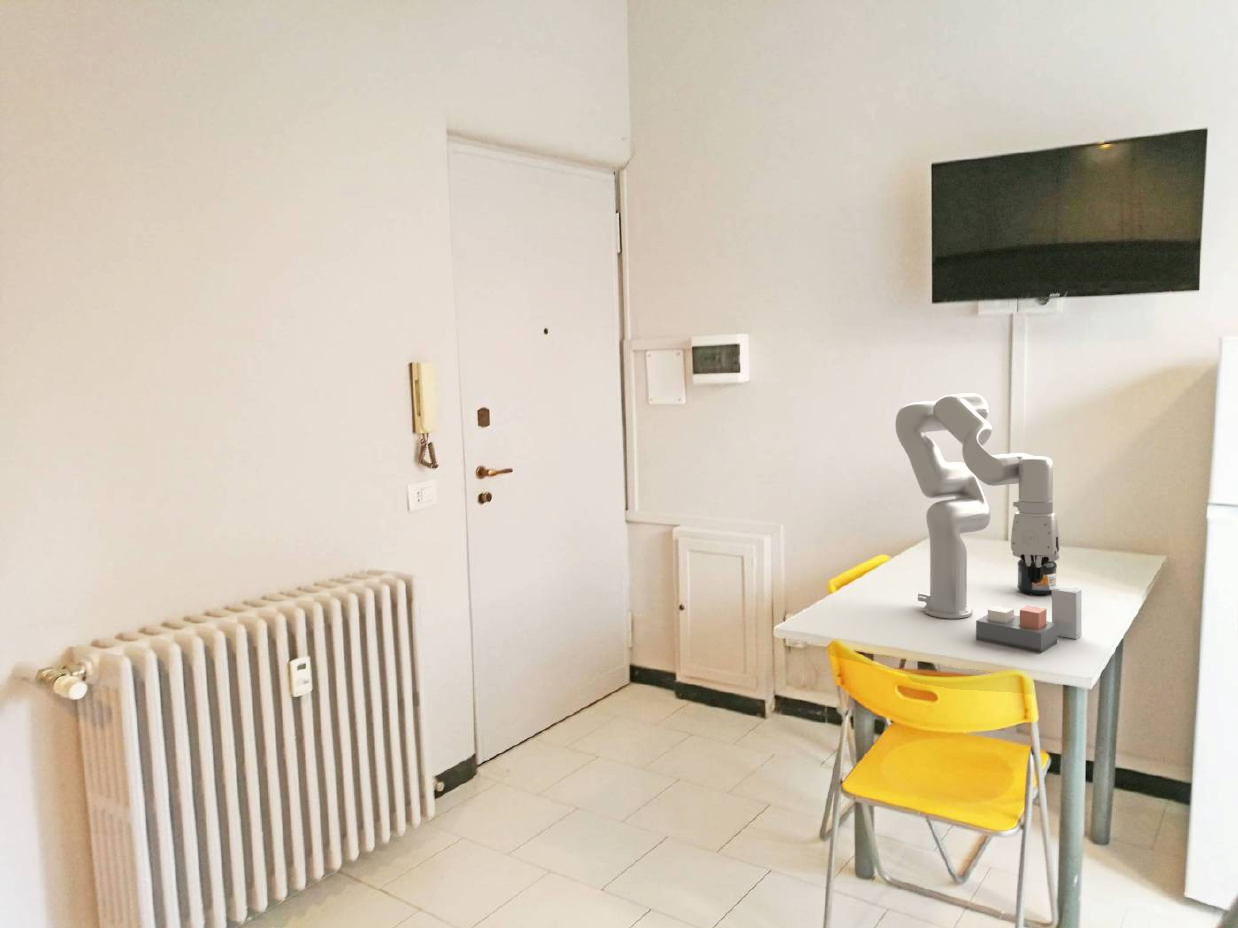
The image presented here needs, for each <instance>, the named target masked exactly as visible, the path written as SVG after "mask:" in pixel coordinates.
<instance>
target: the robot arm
mask: <svg viewBox="0 0 1238 928" xmlns="http://www.w3.org/2000/svg"><path fill="white" fill-rule="evenodd" d="M988 415H989V405H988V402H987V401H986V399H985V398H984V397H983V396H981V395H980V394H977V393H972V392H971V393H958V394H957V393H955V394H948V395H944V396H942V397H940V398H939V399H938V400H933V401H932V400H931V401H919V402H918V401H917V402H912V403H909V404H906V405H904V406H902V407H901V408H900V409H899V410H898V412H897V415H896V417H895V432H896V436H897V438H898V441H899V443H900V445H901V446H902V448H903V449H904V451H905V453H906V455H907V457H908V459H909V461H910V465H911V467H912V470H913V473H914V476H915V477H916V481H917V483H918V486H919V488H920V490H921V492H922V494H923V495H924V496H925V497H926V498H928V499H943V498H951V499H944V500H940V501H936V502H934V503H932V504H931V505H930V506H929V508H927V512H926V515H925V517H926V518H925V519H926V525H927V529H928V534H929V560H930V561H929V565H930V566H929V591H930V592H929V593H925V592H919V593H918V594H917V601H918V602H925V604H926V605H924V607H923V611H924V613H925V614H927V615H928V614H929V616H931V617H935V618H941V619H951V620H953V619H954V620H955V619H957V620H958V619H965V618H968V617H970V616H972V615H973V608H971V606H968V605H967V597H968V596H967V592H968V591H967V583H968V582H967V581H968V578H967V576H968V566H967V565H968V564H967V563H968V558H967V557H968V553H967V552H968V550H967V547H966V544H965V542H964V540H963V539H962V536H961V534H962V535H963V534H966V533H973V532H979V531H982V530H984V529H986V528H987V527H988V526H989V524H990V522H991V511H990V506H989V504H988V501H987V499H986V497H985V494H984V491H983V489H982V486H981V484H980V481H981V482H982V483H983V484H985V485H987V486H992V487H995V486H997V487H998V486H1005V485H1014V484H1015V485H1016V484H1018V500H1017V501H1015V500H1014V501H1013V503H1012V506H1013V508H1015V507H1016V508H1017V511H1016V512H1015V513H1014V515H1013V519H1012V527H1011V535H1010V536H1011V539H1010V549H1011V551H1012V556H1014V557H1017V558H1019V559H1022V560H1023V561H1024V562H1025V563H1026V565H1027V566H1028V578H1030V583H1033V582H1034V583H1036V584H1037V583H1039V582H1041V580H1042V579H1043V566H1044V565H1045V564H1046V563H1047V562H1048V561H1055V562H1056V561H1059V560H1060V556H1059V551H1060V534H1059V533H1060V532H1059V531H1060V530H1059V525H1058V520H1057V516H1056V513H1054V511H1053V510H1054V505H1053V504H1054V503H1053V502H1054V500H1053V499H1054V498H1053V493H1054V490H1053V489H1054V486H1053V484H1054V477H1053V476H1054V463H1053V461H1052V459H1051V458H1050V457H1047V456H1036V455H1035V456H1034V455H1031V454H1027V453H1025V452H1018V453H1017V452H1015V453H1014V452H1013V453H1005V454H1004V453H1003V454H995V455H993V454H990V453H989V452H988V451H987V450H986V449H985V448H984V447H983V446H984V445H985V444H986V443H987V442H988V440H989V439H990V437H991V435H992V432H993V431H992V428H993V427H992V425H991V424H990V423H989V422H988V421H987V420H986V419H987V417H988ZM939 431H948V432H949V434H951V435H952V436H953V437H954V438H955V439H956V440H957V441H958V442H959V443H960V444H961V445H962V448H961V450H962V451H961V452H962V458H963V461H964V462H960V461H958V462H946V461H945V460H944V457H943V455H942V454H941V450H940V448H939V447H938V445H937V444H936V443H935V441H934V440H932V438H930V437H929V436H928V435H927V434H926V433H927V432H929V433H930V432H939ZM953 497H954V498H953ZM952 498H953V499H952ZM1034 555H1035V556H1037V559H1036V563H1035V556H1034Z"/></svg>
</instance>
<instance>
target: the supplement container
mask: <svg viewBox="0 0 1238 928" xmlns="http://www.w3.org/2000/svg"><path fill="white" fill-rule="evenodd" d="M1034 556H1035V555H1034ZM1036 559H1037V556H1035V563H1036ZM1057 567H1058V564H1057V562H1056V561H1048V562H1047V563H1046V564H1045V565H1044V566H1043V579H1042V580H1041V582H1039V583H1037V584H1036V583H1034V582H1033V583H1030V578H1028V566H1027V565H1026V563H1025V562H1024V561H1023V560H1022V559H1021V558H1019V560H1018V561H1017V584H1016V585H1017V590H1018V591H1019V592H1020V593H1022V594H1026V595H1030V596H1038V597H1039V596H1043V597H1044V596H1045V597H1046V596H1050V595H1051V596H1052V590H1053V589H1054V588H1055V587H1057Z"/></svg>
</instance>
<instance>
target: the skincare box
mask: <svg viewBox="0 0 1238 928" xmlns="http://www.w3.org/2000/svg"><path fill="white" fill-rule="evenodd" d="M1082 617H1083V616H1082V589H1078V588H1073V587H1065V586H1059V585H1056V587H1055V588H1054V589H1053V590H1052V594H1051V622H1053V623H1058V633H1057V637H1060V638H1067V639H1074V640H1078V639H1079V638H1080V637H1081V636H1082V635H1083V633H1082V628H1083V627H1082V620H1083V619H1082Z"/></svg>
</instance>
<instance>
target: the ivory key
mask: <svg viewBox="0 0 1238 928" xmlns="http://www.w3.org/2000/svg"><path fill="white" fill-rule="evenodd" d="M1014 613H1015V609H1014V608H1012V607H1007V606H1006V607H1005V606H1000V605H995V606H992V607H991V608H988V609H987V615H988V620H991V621H996V622H1002V623H1008V622H1010V621H1012V620H1014Z"/></svg>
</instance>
